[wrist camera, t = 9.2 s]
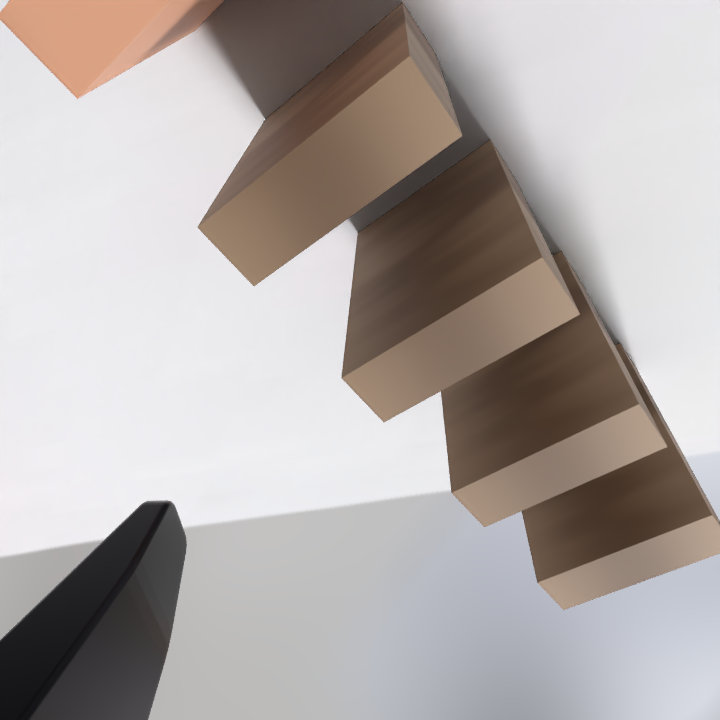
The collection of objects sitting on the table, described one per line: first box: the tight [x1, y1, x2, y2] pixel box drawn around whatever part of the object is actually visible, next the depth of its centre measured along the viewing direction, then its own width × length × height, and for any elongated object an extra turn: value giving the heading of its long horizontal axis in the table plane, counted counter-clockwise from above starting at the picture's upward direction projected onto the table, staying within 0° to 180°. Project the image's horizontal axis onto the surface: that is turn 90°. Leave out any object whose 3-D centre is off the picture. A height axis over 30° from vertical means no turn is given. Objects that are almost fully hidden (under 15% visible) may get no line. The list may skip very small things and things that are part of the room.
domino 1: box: [522, 343, 720, 610], centre depth 21 cm, size 5×2×8 cm, turn 128°
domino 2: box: [441, 251, 667, 527], centre depth 19 cm, size 5×2×8 cm, turn 128°
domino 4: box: [198, 3, 462, 286], centre depth 15 cm, size 5×2×8 cm, turn 128°
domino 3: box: [342, 140, 580, 422], centre depth 17 cm, size 5×2×8 cm, turn 128°
